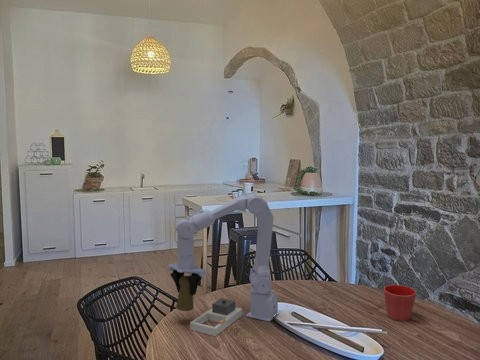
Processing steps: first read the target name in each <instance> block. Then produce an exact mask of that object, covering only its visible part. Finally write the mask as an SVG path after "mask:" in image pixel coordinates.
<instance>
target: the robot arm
mask: <svg viewBox="0 0 480 360" xmlns="http://www.w3.org/2000/svg"><path fill="white" fill-rule="evenodd" d="M236 211H238V212H244V213H246V212H247V211H248V212H249V213H251V214H253V216H255V218H256V219H257V220H258V225H257V227H258V228H257V237H256V245H255V246H256V247H255V254H254V255H255V258H254V263H253V265H252V268H251V269H252V270H251V272H250V273H249V275H248V276H249V279H248V280H249V282H250V284H252V285H251V287H250V290H249V292H250V297H249V298H250V304H249V305H250V311H249V312H247V314H246V315H245V316H246V317H247V318H253V319H256V320H261V321H265V322H271V321H272V320H274V318H273V316H274V315H275V314H277V313H278V312H279V311H278V309H279V308H278V307H279V305H278V303H279V302H278V300H279V299H278V298H279V297H278V294H277V293H275V292H273V291H271V289H272V287H273V283H272V280H271V271H270V258H271V247H272V237H273V229H274V228H273V226H274V215H273V213H272V211H271V209H270V207H269V205H268V202H267V201H266V200H265V199H264V198H263V197H261V196H259V195H257V194H256V193H254V192H247V193H245V195H243V194H242V195H240V196H237V197H236V198H233V199H232V200H229V201H227V202H225V203H224V204H222V205H221V206H218V207H216V208H215V209H213V210H210V209H209V210H208V209H204V210H203V209H200V210H199V212H198V213H195V214H194V215H191V216H190V215H188V216H187V217H186V219H185V218H184V219H180V220H179V221H178V222H177V223H176V227H175V231H176V233H177V236H176V238H177V240H176V241H177V242H176V247H177V248H176V249H177V250H176V253H177V254H176V255H177V257H176V258H177V263H169V264H168V265H167V270H168V271H172V272H171V273H170V276H171V278H172V280H173V282H174V284H175V287H176V291H177V293H178V294H179V290H180V285H179V279H180V278H181V277H182V276H185V274H190V275H187V276H188V280H189V283H190V293H191V295H192V296H193V297H194V295H197V291H198V285H199V283H200V281H201V278H202V277H204V276H205V275H206V268H205V269H204V268H201V267H199V266H195V241H194V235H195V233H198V232H200V231H203V230H205V229H207V228H209V227H211V226H213V225H214V224H215V221H216V220H217V219H219V218H222V217H224V216H227V215H229V214H232V213H234V212H236ZM278 314H279V313H278ZM278 314H277V315H278Z"/></svg>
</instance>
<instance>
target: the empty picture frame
mask: <svg viewBox="0 0 480 360" xmlns="http://www.w3.org/2000/svg"><path fill="white" fill-rule="evenodd" d="M211 307H212V308H209V309H208V310H207V311H205V312H204V313H202V314H200V315H199V316H198V317H196V318H195V319H193V320H192V321H190V322H189V327H190V328H189V329H190V331H195V332H198V333H201V334H205V335H209V336H213V337H216V336H218V335H219V334H221V333H222V332H223V331H225V330H226V329H227V328H229V326H231V325H232V324H233V323H235V322H236V321H237V320H239V319H240V318H241V317H242V316H243V308H240V307H236V300H231V299H229V298H228V299H227V298H223V297H221V298H219V299H217V300H216V301H214V302H213V303H212V304H211ZM207 321H210V322H215V323H217V324H216V325H215V326H212V325H207V324H204V323H205V322H207Z"/></svg>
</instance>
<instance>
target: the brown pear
mask: <svg viewBox="0 0 480 360" xmlns="http://www.w3.org/2000/svg"><path fill="white" fill-rule="evenodd" d="M188 276H189V275H184V276H182V277H181V278H180V279H179V285H180V290H179V293H178V296H177V301H176V302H177V303H176V309H177V310H178V311H181V312H188V311H192V310H194V308H195V306H194V295H193V296H192V295H191V293H190V283H189V280H188Z"/></svg>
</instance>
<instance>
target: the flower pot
mask: <svg viewBox="0 0 480 360" xmlns="http://www.w3.org/2000/svg"><path fill="white" fill-rule="evenodd" d="M383 295H384V302H385V309H386V315H387V317H389V318H390V319H392V320H394V321H401V322H404V321H405V322H406V321H409V320H410V319H411V317H412V313H413V309H414V304H415V300H416V295H417V291H416V290H415V289H414V288H412V287H410V286H406V285H402V284H401V285H400V284H389V285H385V286H384V288H383Z"/></svg>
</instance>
